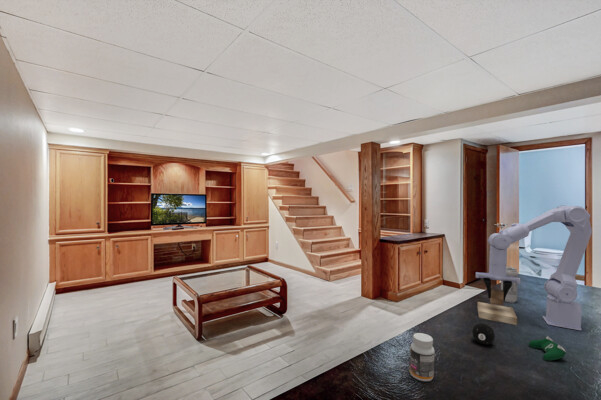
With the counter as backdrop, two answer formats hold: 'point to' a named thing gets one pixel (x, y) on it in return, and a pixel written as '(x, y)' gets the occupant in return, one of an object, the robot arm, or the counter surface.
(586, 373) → the counter surface
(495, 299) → the walnut block
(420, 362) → the pill bottle
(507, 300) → the energy drink can
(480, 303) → the birch base
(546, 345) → the gaming controller
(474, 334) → the billiard ball
